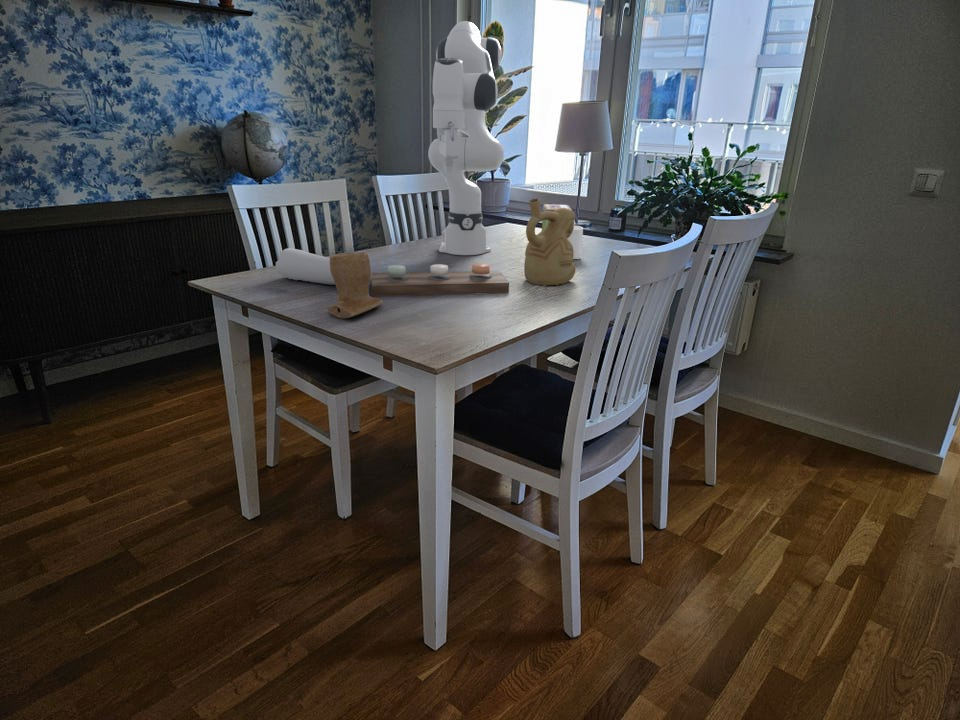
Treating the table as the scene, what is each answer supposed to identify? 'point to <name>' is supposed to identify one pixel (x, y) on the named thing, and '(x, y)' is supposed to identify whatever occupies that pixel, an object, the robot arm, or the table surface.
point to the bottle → (305, 266)
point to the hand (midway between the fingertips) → (448, 172)
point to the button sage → (396, 270)
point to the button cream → (439, 269)
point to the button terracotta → (480, 269)
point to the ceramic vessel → (549, 246)
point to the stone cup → (351, 284)
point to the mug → (576, 241)
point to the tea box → (552, 208)
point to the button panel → (438, 283)
